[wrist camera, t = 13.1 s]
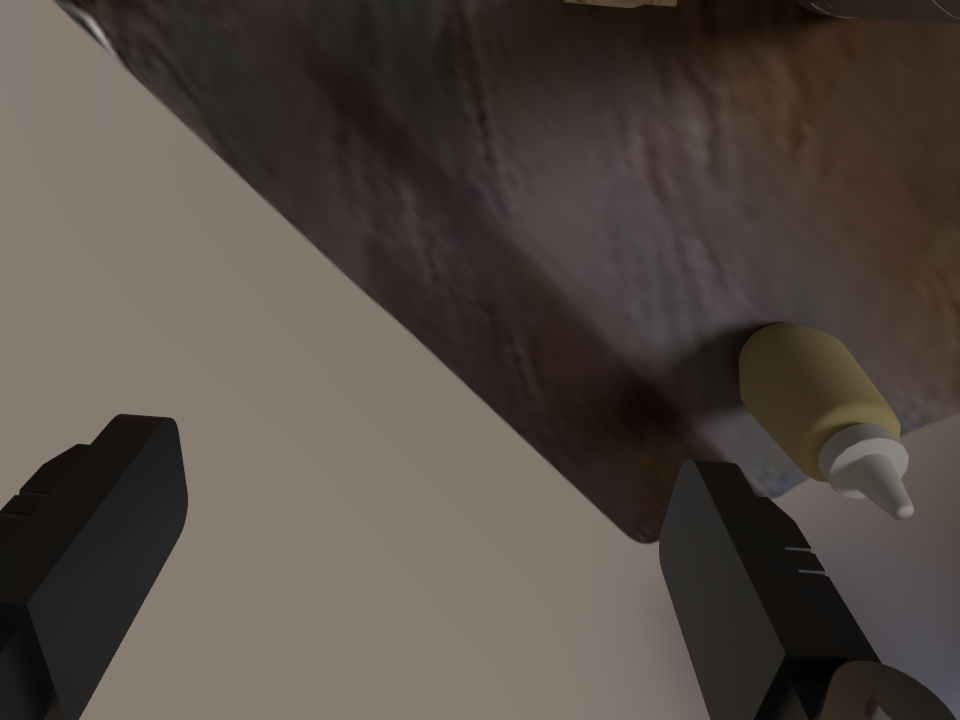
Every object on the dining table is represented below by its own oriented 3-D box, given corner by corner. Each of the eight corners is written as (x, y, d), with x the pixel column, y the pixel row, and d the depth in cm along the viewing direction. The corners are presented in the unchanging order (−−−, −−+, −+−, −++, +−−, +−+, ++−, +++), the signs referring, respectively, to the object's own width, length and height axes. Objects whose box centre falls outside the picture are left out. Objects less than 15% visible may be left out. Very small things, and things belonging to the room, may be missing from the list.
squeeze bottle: (704, 380, 53) (797, 544, 37) (758, 293, 49) (887, 434, 33) (790, 409, 54) (916, 579, 38) (849, 327, 50) (1015, 477, 35)
